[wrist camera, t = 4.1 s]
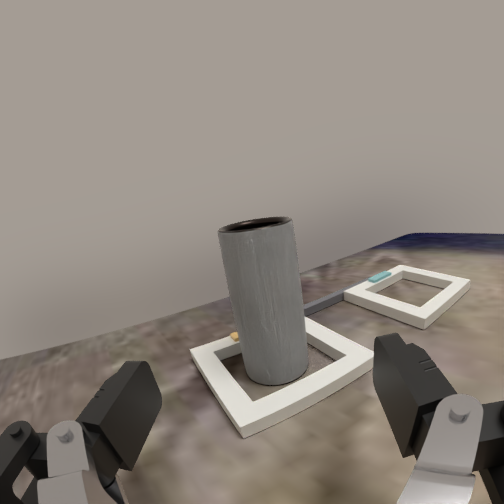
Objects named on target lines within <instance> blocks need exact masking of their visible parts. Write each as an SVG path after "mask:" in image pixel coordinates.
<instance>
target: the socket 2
mask: <svg viewBox="0 0 504 504" xmlns="http://www.w3.org/2000/svg"><path fill="white" fill-rule="evenodd" d="M401 279H407V280H411V281H415V282H419V283H423V284H427V285H431V286H435V287H439V288H443V289H444V290H443V291H441V292H440V293H439V294H437V295H436V296H435V297H434V298H432V299H431V300H430V301H428V302H427V303H426V304H424V305H423V306H421V307H417V306H414V305H411V304H408V303H404V302H401V301H398V300H395V299H392V298H388V297H385V296H382V295H379V294H376V293H377V292H379V291H380V290H382V289H384V288H386V287H388V286H390V285H392V284H394V283H395V282H397V281H399V280H401ZM469 289H470V280H469V279H464V278H460V277H455V276H450V275H446V274H441V273H437V272H432V271H427V270H423V269H418V268H413V267H408V266H404V265H399V266H397V267H395V268H393V269H390V270H388V271H383V272H381V273H379V274H377V275H375V276H373V277H371V278H368V280H367V281H365V282H363V283H361V284H358V285H356V286H354V287H352V288H349V289H347V290H345V291H344V300H345V301H348V302H350V303H353V304H356V305H358V306H361V307H364V308H366V309H369V310H372V311H374V312H377V313H380V314H382V315H385V316H388V317H391V318H393V319H396V320H399V321H401V322H404V323H407V324H409V325H412V326H415V327H418V328H420V329H423V330H424V329H426V328H427V327H428V326H429V325H430V324H432V323H433V322H434V321H435V320H436V319H437V318H439V317H440V316H441V315H442V314H443V313H444V312H445V311H447V310H448V309H449V308H450V307H451V306H452V305H453V304H454V303H455V302H456V301H457V300H459V299H460V298H461V297H462V296H463V295H464V294H465V293H466V292H467V291H468V290H469Z"/></svg>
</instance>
